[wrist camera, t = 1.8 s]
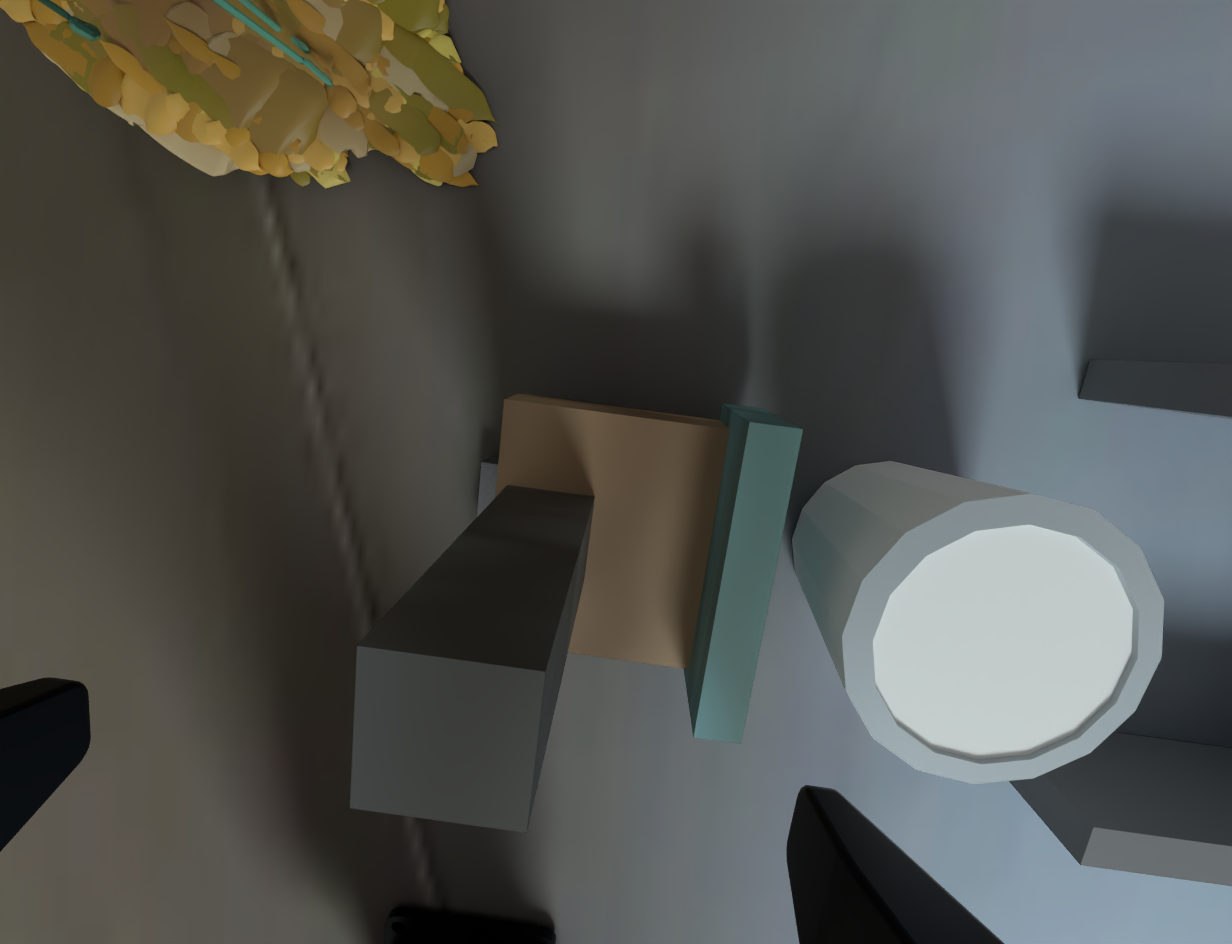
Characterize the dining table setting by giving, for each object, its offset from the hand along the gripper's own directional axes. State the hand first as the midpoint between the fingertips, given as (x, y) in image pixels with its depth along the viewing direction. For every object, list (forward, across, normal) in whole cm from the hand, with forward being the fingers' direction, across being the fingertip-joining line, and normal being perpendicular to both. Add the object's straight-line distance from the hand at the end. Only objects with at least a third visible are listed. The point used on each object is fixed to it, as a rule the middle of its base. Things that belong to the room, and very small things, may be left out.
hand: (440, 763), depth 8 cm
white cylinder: (+13, -10, 0) cm, 17 cm away
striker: (+11, -2, 0) cm, 12 cm away
